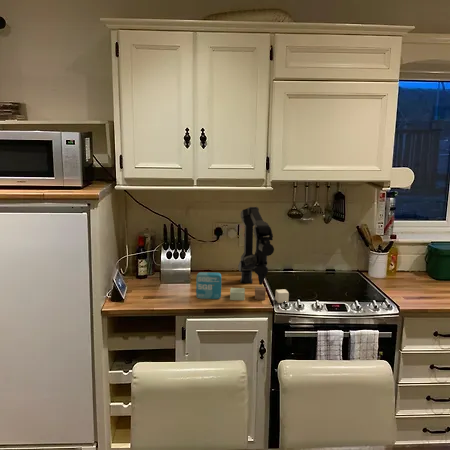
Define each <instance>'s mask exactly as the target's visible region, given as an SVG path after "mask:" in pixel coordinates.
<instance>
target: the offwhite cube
mask: <svg viewBox="0 0 450 450" xmlns="http://www.w3.org/2000/svg"><path fill="white" fill-rule="evenodd" d="M274 297H275V298H274V300H275V301H276V302H277V304H284V303H283V302H284V301H286V302H288V303H289V299H290V298H289V297H290V293H289V291H288V290H287V289H283V288H282V289H275V296H274Z"/></svg>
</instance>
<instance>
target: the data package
mask: <svg viewBox="0 0 450 450" xmlns="http://www.w3.org/2000/svg"><path fill="white" fill-rule="evenodd" d="M195 281H196V282H195V285H196V289H195V296H196V298H197V299H202V300H203V299H205V300H208V299H209V300H219V299H220V298H221V296H222V274H221V273H220V272H209V271H208V272H206V271H205V272H204V271H203V272H202V271H200V272H198V273H197V274H196V280H195Z"/></svg>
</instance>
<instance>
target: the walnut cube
mask: <svg viewBox="0 0 450 450" xmlns="http://www.w3.org/2000/svg"><path fill="white" fill-rule="evenodd" d="M255 299H257V300H260V301H265V300H266V286H254V300H255Z"/></svg>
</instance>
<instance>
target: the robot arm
mask: <svg viewBox="0 0 450 450" xmlns="http://www.w3.org/2000/svg"><path fill="white" fill-rule="evenodd" d="M240 219H241V222H242V223H243V225H244V229H243V230H244V231H243V232H244V235H243V236H244V237H243V238H244V239H243V244H244V245H243V254H241V256H240V260H239V263H238V266H237V267H238V271H239V272H240V273H241V275H240V276H241V277H240V283H241V284H253V272H254V273H255V274H256V275H257V279H258V284H259V285H260V286H261V285H262V284H263V283H264V281H265V278H266V277H267V274H268V272H269V266H268V257H269V256H271V255H273V253H274V252H275V247H274V246H273V244H272V243H271V241H273V238H274V236H273V231H272V227H271V226H270V225H269V223H268V222H266V221H264V219H263V218H262V215H261V213H260V210H259V207H257V206H250V207H247V208H245V209H242V211H240ZM254 238H255V251H253V249H254V248H253V247H254V246H253V243H254Z"/></svg>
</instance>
